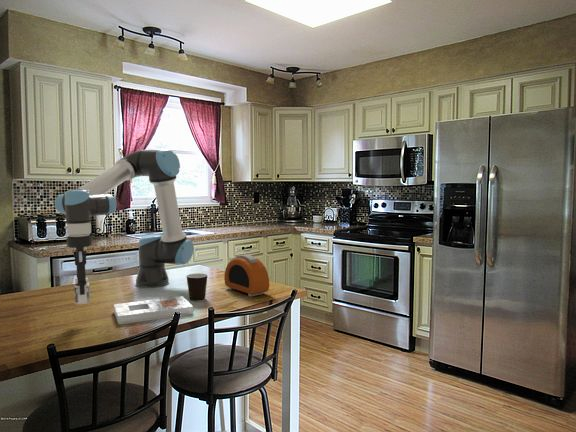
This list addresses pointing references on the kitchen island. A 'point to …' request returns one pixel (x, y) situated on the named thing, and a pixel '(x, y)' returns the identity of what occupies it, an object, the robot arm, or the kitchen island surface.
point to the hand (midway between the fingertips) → (82, 301)
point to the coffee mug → (197, 286)
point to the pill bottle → (86, 289)
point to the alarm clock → (247, 275)
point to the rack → (151, 309)
